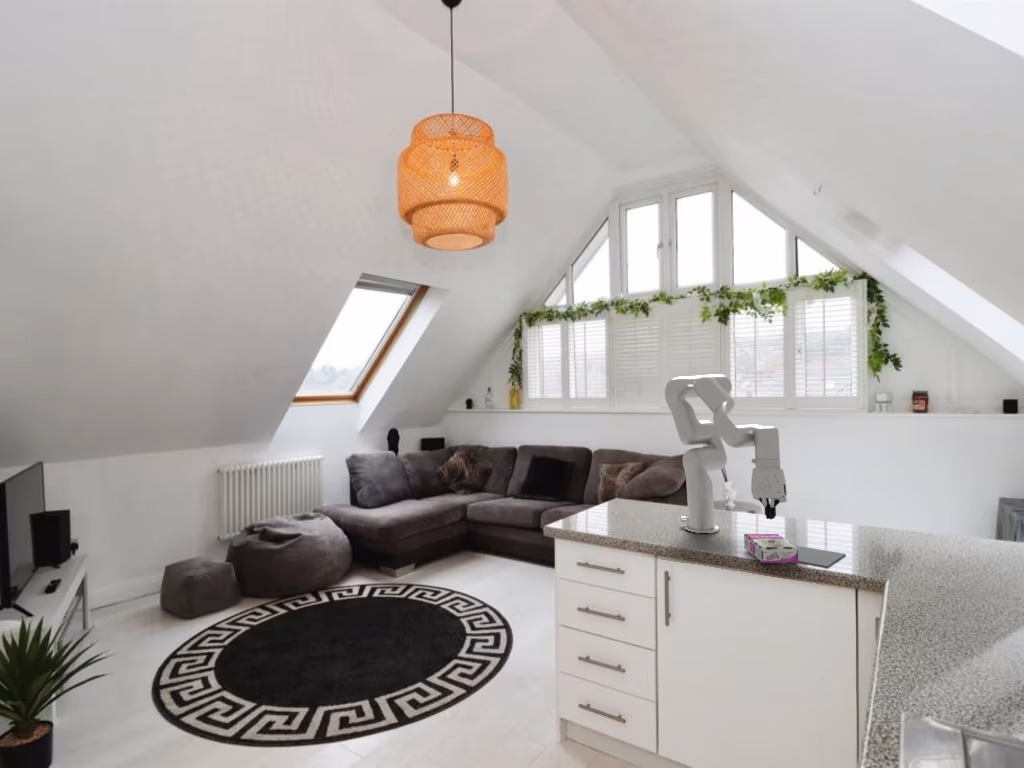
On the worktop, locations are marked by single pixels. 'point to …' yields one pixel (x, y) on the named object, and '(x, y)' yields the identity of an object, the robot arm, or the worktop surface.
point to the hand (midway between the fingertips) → (770, 518)
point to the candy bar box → (771, 548)
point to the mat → (818, 556)
